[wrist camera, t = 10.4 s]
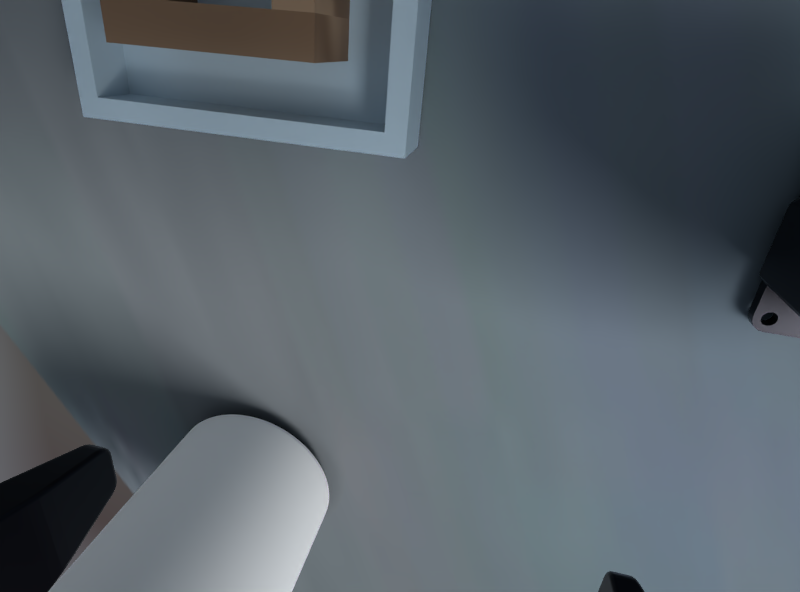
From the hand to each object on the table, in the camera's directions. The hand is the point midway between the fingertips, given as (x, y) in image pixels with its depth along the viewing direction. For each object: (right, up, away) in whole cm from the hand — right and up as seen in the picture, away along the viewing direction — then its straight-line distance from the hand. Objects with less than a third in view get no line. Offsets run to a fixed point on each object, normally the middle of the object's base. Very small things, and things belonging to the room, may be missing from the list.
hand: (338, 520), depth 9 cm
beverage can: (-6, -5, +18) cm, 20 cm away
